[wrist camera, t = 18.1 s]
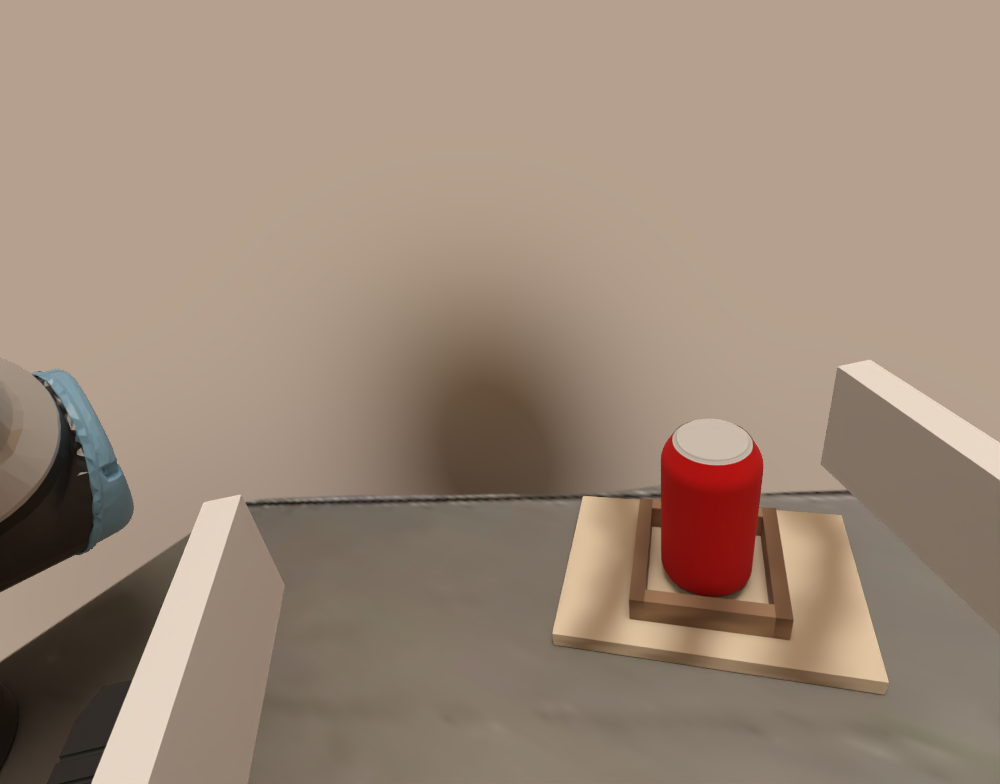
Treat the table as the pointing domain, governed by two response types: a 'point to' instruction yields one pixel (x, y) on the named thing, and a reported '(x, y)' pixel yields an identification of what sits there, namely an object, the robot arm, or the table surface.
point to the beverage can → (709, 507)
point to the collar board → (722, 600)
